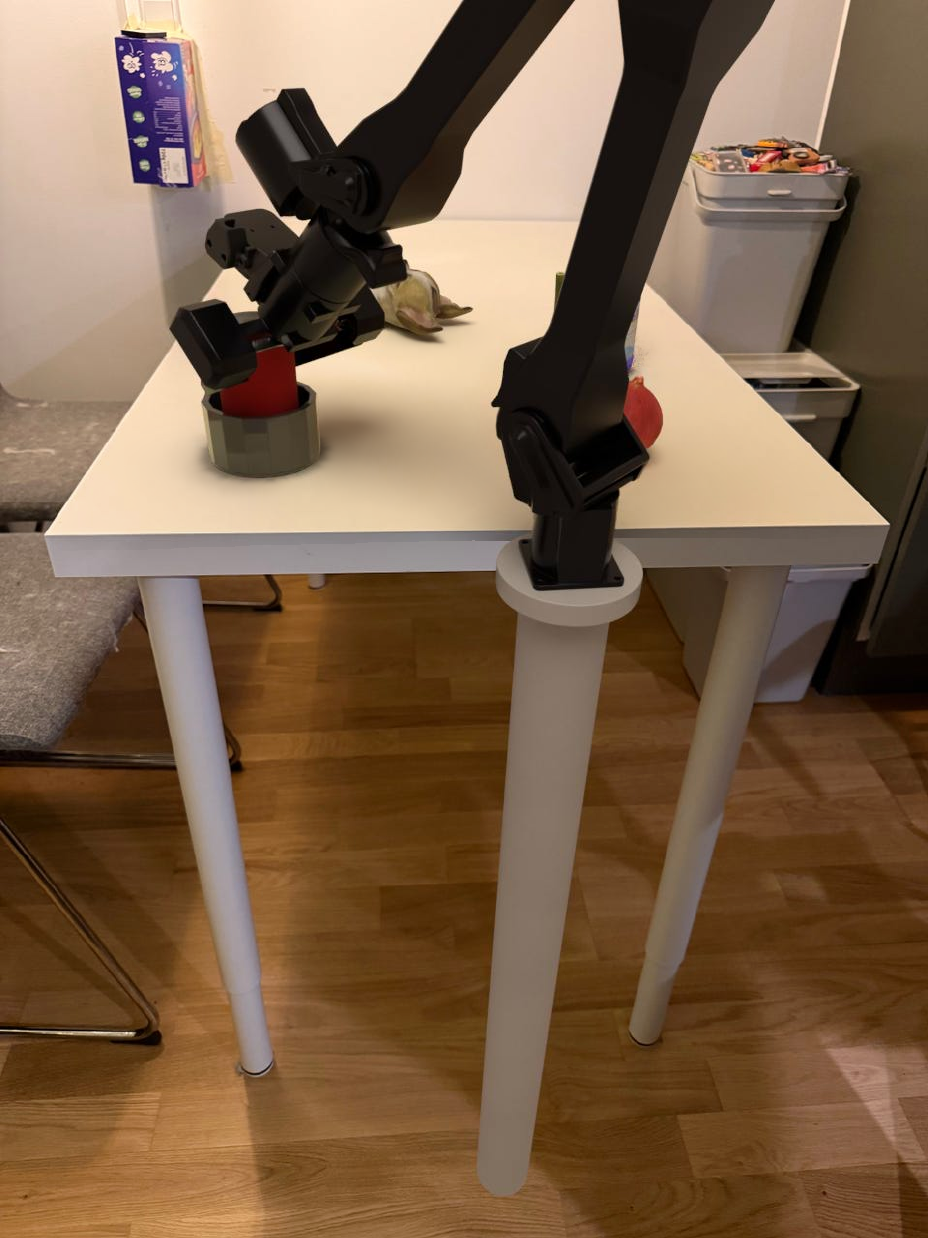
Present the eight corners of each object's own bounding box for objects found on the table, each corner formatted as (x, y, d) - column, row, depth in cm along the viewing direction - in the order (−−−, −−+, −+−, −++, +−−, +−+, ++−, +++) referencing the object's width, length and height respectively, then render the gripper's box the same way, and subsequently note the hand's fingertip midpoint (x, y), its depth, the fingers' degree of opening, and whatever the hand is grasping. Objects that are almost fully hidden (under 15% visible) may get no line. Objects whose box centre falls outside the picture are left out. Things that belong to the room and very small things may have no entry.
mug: (342, 452, 83) (339, 396, 79) (258, 488, 76) (251, 428, 73) (253, 416, 89) (247, 362, 86) (169, 445, 83) (159, 389, 80)
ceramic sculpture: (374, 240, 116) (478, 261, 112) (373, 306, 121) (473, 329, 117) (333, 258, 108) (443, 281, 104) (333, 328, 113) (438, 353, 109)
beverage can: (290, 431, 86) (278, 305, 79) (312, 458, 81) (301, 326, 74) (220, 442, 83) (202, 313, 76) (238, 471, 78) (221, 335, 71)
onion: (587, 464, 81) (596, 380, 77) (602, 441, 86) (613, 360, 81) (649, 476, 80) (663, 390, 75) (662, 452, 84) (675, 370, 80)
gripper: (357, 164, 72) (280, 279, 84) (162, 191, 60) (105, 320, 72) (428, 282, 73) (341, 379, 85) (249, 332, 61) (178, 437, 73)
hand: (248, 376), depth 79 cm, fingers open, 9 cm apart
